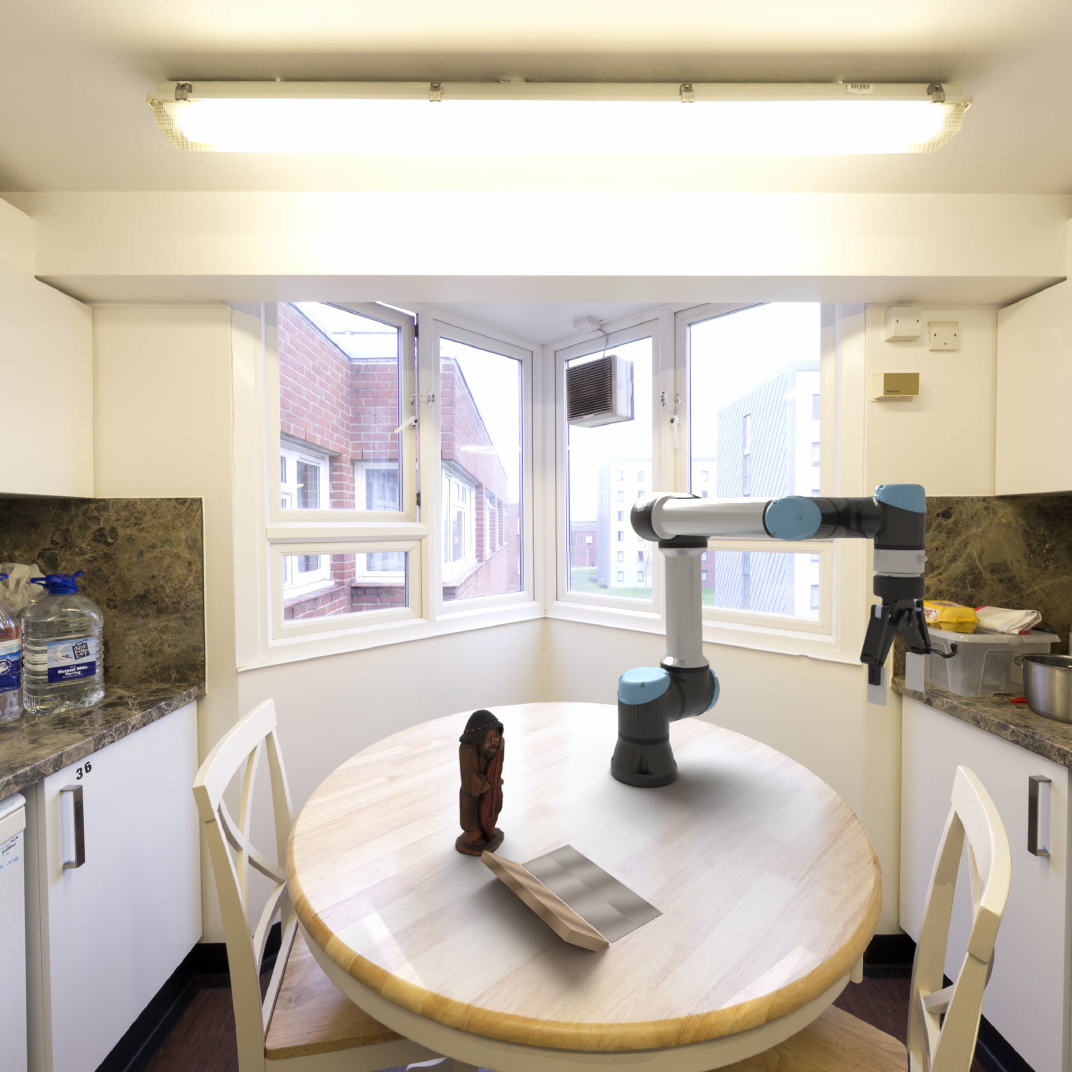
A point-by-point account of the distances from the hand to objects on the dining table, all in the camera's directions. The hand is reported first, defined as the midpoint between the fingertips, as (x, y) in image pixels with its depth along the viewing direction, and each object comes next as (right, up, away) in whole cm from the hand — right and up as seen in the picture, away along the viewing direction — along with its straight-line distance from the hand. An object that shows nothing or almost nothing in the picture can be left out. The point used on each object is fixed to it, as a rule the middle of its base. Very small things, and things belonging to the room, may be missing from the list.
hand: (896, 696), depth 101 cm
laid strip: (-54, -28, -10) cm, 62 cm away
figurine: (-72, -28, +3) cm, 78 cm away
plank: (-62, -26, -16) cm, 69 cm away
